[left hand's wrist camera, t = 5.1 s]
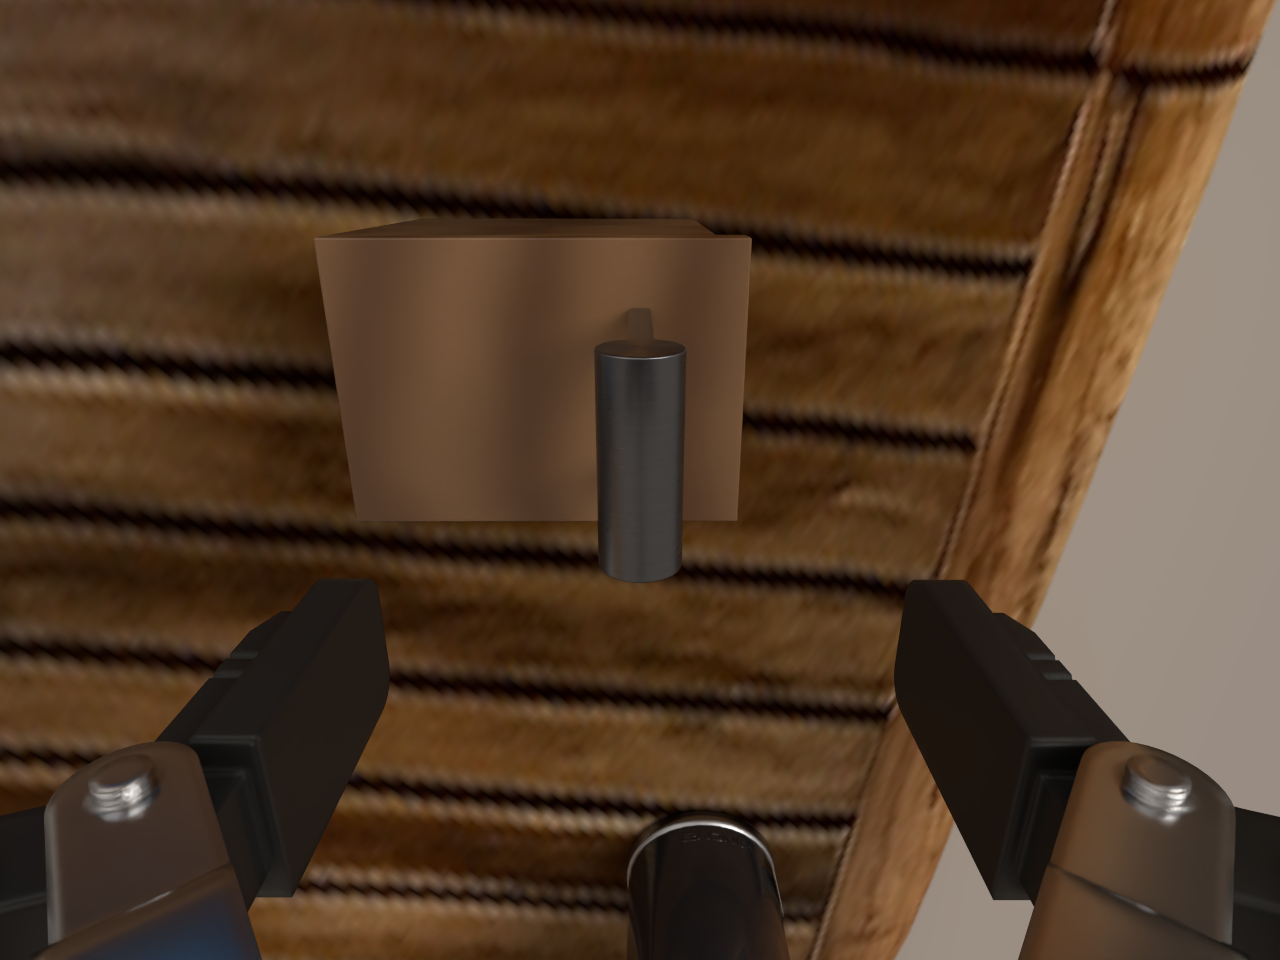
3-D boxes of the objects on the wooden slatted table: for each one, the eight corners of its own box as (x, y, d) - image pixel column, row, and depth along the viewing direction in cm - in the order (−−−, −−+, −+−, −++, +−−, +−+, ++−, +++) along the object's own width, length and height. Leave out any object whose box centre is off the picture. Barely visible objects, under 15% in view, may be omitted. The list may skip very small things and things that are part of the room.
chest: (693, 218, 34) (716, 234, 24) (688, 418, 38) (706, 506, 28) (421, 218, 34) (329, 234, 24) (441, 418, 38) (368, 506, 28)
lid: (746, 235, 24) (804, 264, 16) (732, 507, 28) (774, 651, 19) (328, 234, 24) (161, 264, 16) (368, 507, 28) (248, 651, 19)
